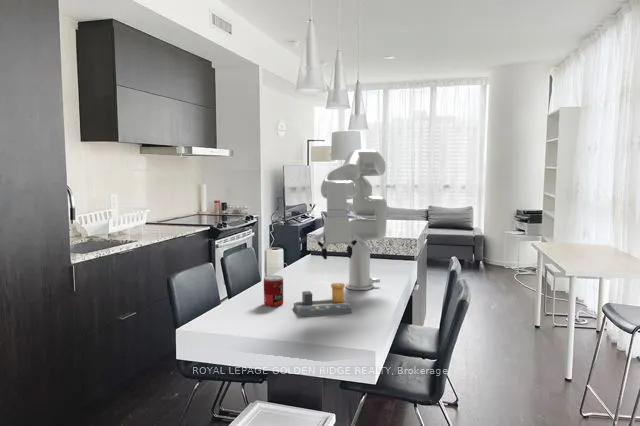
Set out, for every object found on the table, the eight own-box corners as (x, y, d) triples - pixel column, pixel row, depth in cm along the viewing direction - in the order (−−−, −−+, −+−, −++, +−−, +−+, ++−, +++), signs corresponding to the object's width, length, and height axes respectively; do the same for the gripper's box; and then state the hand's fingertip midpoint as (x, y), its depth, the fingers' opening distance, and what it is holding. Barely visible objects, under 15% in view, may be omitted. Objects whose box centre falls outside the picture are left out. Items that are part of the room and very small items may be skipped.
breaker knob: (310, 303, 179) (309, 291, 179) (312, 306, 175) (312, 293, 175) (302, 304, 179) (302, 291, 178) (304, 307, 174) (304, 294, 174)
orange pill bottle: (342, 301, 183) (342, 282, 182) (346, 305, 178) (346, 285, 177) (329, 302, 182) (329, 283, 181) (333, 306, 177) (332, 286, 176)
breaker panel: (342, 304, 186) (342, 296, 186) (351, 312, 175) (351, 304, 175) (293, 307, 182) (293, 300, 182) (299, 316, 170) (299, 308, 170)
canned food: (275, 307, 182) (275, 280, 181) (260, 305, 186) (259, 278, 185) (287, 303, 188) (287, 276, 187) (271, 300, 193) (271, 274, 192)
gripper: (355, 212, 182) (355, 255, 184) (312, 213, 178) (313, 257, 180) (361, 213, 175) (361, 258, 177) (316, 215, 171) (317, 261, 173)
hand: (337, 258), depth 178 cm, fingers open, 9 cm apart
